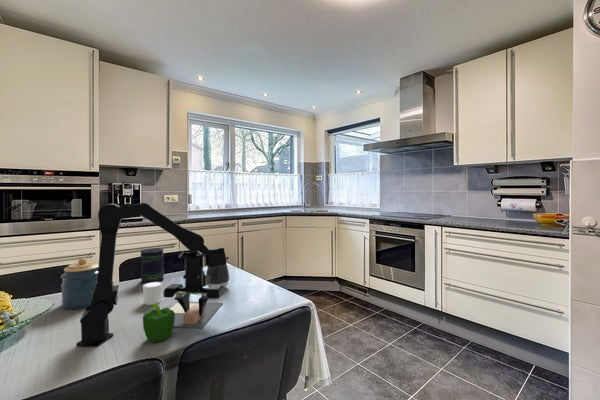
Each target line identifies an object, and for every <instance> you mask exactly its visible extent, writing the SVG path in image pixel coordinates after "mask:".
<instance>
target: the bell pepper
mask: <svg viewBox="0 0 600 400" xmlns="http://www.w3.org/2000/svg"><path fill="white" fill-rule="evenodd" d="M150 307H151V308H152V309H151V310H150V311H148V312H145V313H144V314H143V317H142V324H143V325H142V326H143V331H144V334H145V337H146V338H147V339H148V340H149V341H150V342H151V343H161V342H164V341H165V340H166V339H167V338H168V337H170V336H171V335H172V333H173V331H174V330H173V329H174V328H173V326H174V321H175V313H174V311H173V310H170V309H169V308H170V307H164V308H162V309H161V308H160V306H159V305H158V303H157V304H151V305H150ZM153 308H154V309H153Z"/></svg>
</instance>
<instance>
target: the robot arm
mask: <svg viewBox="0 0 600 400" xmlns="http://www.w3.org/2000/svg"><path fill="white" fill-rule="evenodd" d="M97 217H98V219H97V220H98V226H99V230H100V236H101V237H100V246H99V248H100V249H99V258H98V264H99V267H98V278H97V285H96V288H95V291H94V294H93V298H92V301H91V304H90V305H89V306H88V307H86V308H84V311H83V313H82V316H81V317H80V320H79V323H80V329H81V330H80V333H81V338H80V339H81V340H80V341H77V343H76V346H78V347H79V346H83V347H98V346H101V345H102V344H103V343H105V342H106V341H107V340H109V339H110V338H112V337H113V336H114V332H113V333H112V332H110V327H109V326H110V325H109V324H110V323H109V314H111V313H112V312H113V310H114V307H115V306H117V305H118V299H119V295H118V291H119V287H120V285H119V284H118V285H114V280H113V279H114V278H113V277H114V267H115V258H116V246H117V245H116V243H117V236H118V232H119V228H120V224H121V221H122V220H124V219H130V218H136V217H144V218H145V219H146V220H148V221H150V222H151V223H153V224H155V225H156V226H158V227H160V228H161V229H162V230H164V231H165V232H167V233H169V234H171V235H172V236H173V237H174V238H176V239H177V240H178V241H179V242H180V243H181V244H182V245H183V246H184V247H185V248H187V249H188V251H189V252H188V251H185V250H182V252H181V253H180V254H178V258H179V260H184V275H182V276H183V277H182V278H183V280H184V284H185V285H184V286H183V284H182V283H172V284H170V285H169V286H167V287H165V288H164V289H163V298H173V297H174V296H175V297H174V301H176V302H179V304H180V305H181V306H182V308H183V310H184V312H185V313H186V312H187V311H188V310H189V309H190V304H189V302H190V296H191V295H192V294H194V295H201V297H200V298H198V302H199V315H200V317H201V316H202V314H203V311H204V308H205V305H206V303H207V302H208V301H209V300H210V299H220V298H221V297H222V295H224V293H225V288H224V287H223V286H222V285H212V286H211V287H207V285H209V279H210V276H208V275H206V272H205V270H204V266H205V267H207V268H217V267H224V266H226V264H227V260H226V257H227V256H226V252H225V247H223V246H219V247H215V248H213V247H212V248H209V247H208V246H206V245H205V239H204V237H203V236H202V235H201V234H199V233H197V232H195V231H193V230H191V229H188V228H186V227H183V226H181V225H179V224H178V223H176V222H175V221H174V220H171V219H170V218H169V217H167V216H166V215H164V214H163V213H161V212H160V211H158V210H157V209H155V208H154V207H152V206H151V205H150V204H149V203H147V202H140V203H134V204H123V205H119V204H117V203H108V204H105V205H103V206H102V207H100V208H99V210H98V213H97ZM197 252H199V253H197Z"/></svg>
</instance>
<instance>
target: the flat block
mask: <svg viewBox="0 0 600 400" xmlns="http://www.w3.org/2000/svg"><path fill="white" fill-rule="evenodd" d="M204 314H205V308H204V311H203V314H202V316H203V315H204ZM202 316H201V317H202ZM201 317H200V315H199V305H193V306H192V307H191V308H190V309H189V310H188V311H187V312H186V313H184V314H183V324H196V323H197V322H198V321H199V320H200V319H201Z"/></svg>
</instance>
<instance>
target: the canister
mask: <svg viewBox="0 0 600 400" xmlns="http://www.w3.org/2000/svg"><path fill="white" fill-rule="evenodd" d="M98 267H99V262H96V261H92V260H90V261H87V258H85V257H82V258H79V259H78V261H77V262H74V263H70V264H69V265H67V267H65V268H63V271H64V273H63V274H61V275H60V278H61V279H62V283H61V285H60V286H61V306H62V308H63V309H64V310H80V309H86V308H87V307H88V306H89V305H90V304H91V301H92V298H93V294H94V291H95V288H96V285H97V278H98Z"/></svg>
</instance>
